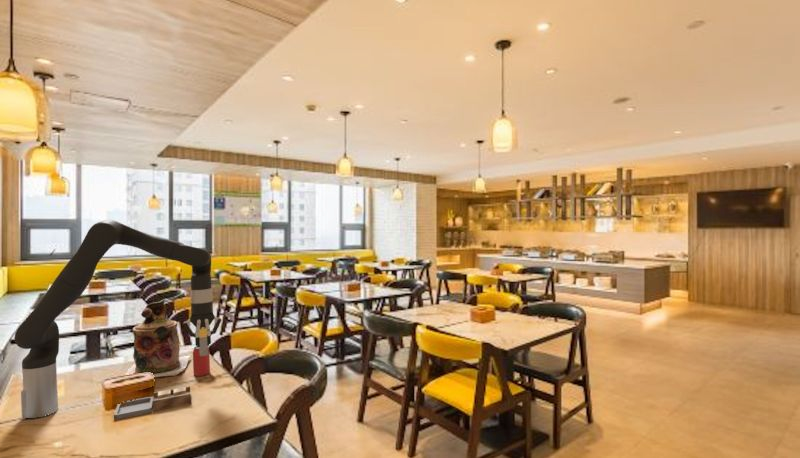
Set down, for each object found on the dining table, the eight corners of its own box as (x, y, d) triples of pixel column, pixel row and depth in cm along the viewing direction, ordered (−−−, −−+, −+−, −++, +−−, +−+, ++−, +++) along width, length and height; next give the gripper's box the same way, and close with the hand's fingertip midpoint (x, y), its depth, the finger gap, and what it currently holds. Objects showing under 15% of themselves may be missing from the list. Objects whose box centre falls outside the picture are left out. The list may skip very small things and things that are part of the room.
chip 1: (157, 401, 153) (157, 395, 153) (158, 397, 156) (158, 391, 156) (170, 399, 155) (170, 393, 155) (170, 395, 158) (170, 389, 158)
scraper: (200, 356, 159) (199, 329, 159) (199, 353, 163) (198, 327, 163) (207, 355, 160) (206, 328, 160) (207, 352, 164) (206, 326, 164)
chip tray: (113, 420, 143) (113, 415, 143) (118, 406, 154) (118, 402, 154) (151, 412, 148) (151, 408, 148) (153, 400, 159) (153, 396, 159)
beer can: (198, 377, 182) (197, 349, 182) (190, 374, 186) (189, 347, 186) (213, 373, 187) (212, 346, 187) (205, 370, 191) (204, 343, 191)
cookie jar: (135, 365, 202) (132, 298, 201) (192, 359, 209) (189, 294, 208) (117, 383, 178) (114, 307, 178) (182, 375, 185) (179, 302, 185)
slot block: (152, 411, 150) (152, 401, 150) (154, 401, 158) (153, 392, 158) (190, 403, 155) (190, 394, 155) (190, 394, 164) (190, 385, 164)
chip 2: (173, 398, 155) (173, 392, 155) (173, 394, 159) (173, 389, 159) (185, 396, 157) (185, 390, 157) (185, 392, 160) (185, 386, 160)
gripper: (181, 304, 155) (182, 351, 155) (222, 300, 161) (224, 345, 161) (181, 301, 161) (182, 346, 162) (220, 297, 168) (222, 341, 168)
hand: (203, 345), depth 161 cm, fingers closed on scraper, 2 cm apart
